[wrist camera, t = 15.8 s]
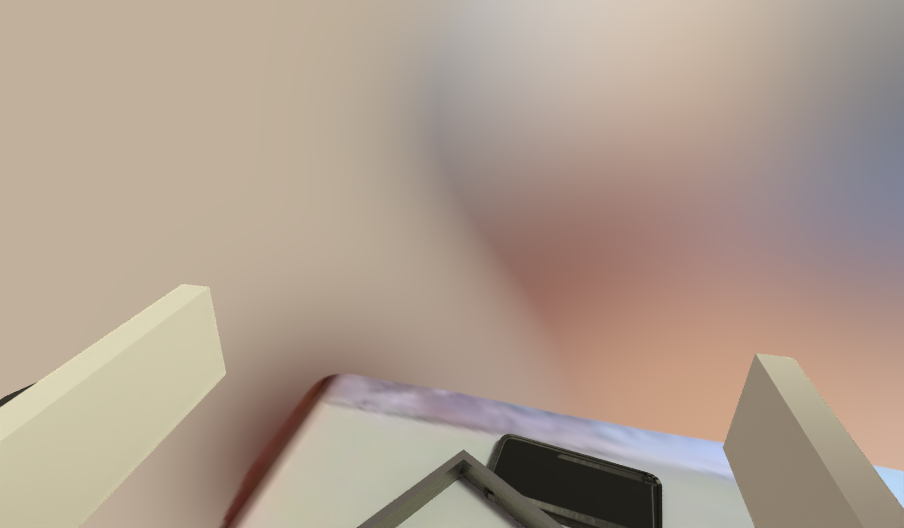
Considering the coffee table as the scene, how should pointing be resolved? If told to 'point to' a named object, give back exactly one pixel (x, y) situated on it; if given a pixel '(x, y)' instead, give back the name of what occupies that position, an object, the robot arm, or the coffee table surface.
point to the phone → (578, 485)
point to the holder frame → (461, 464)
